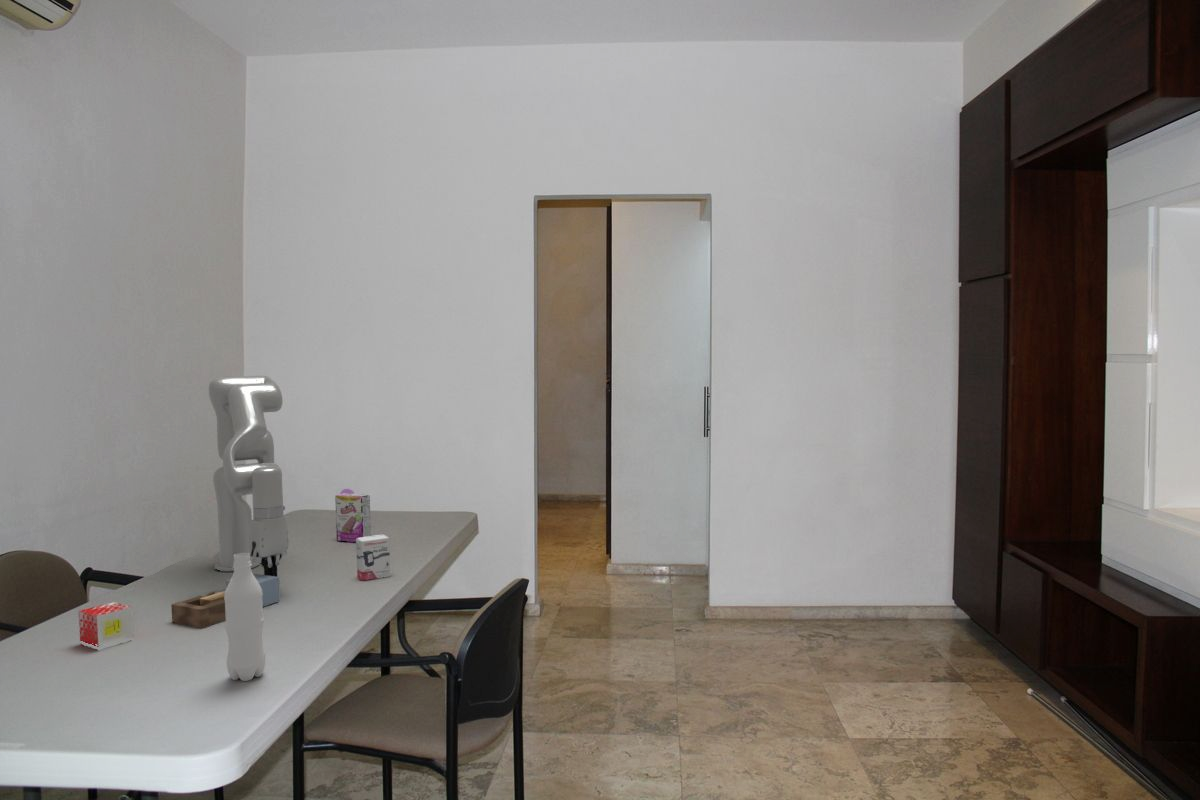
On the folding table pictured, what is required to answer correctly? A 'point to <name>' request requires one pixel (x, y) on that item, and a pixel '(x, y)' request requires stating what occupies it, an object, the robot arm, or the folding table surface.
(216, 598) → the oak slat
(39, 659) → the folding table surface
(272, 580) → the blue end cap
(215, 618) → the walnut end cap
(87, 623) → the red and white box
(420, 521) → the folding table surface
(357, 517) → the candy bar box
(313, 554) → the folding table surface
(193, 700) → the folding table surface
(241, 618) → the water bottle
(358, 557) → the ink box
